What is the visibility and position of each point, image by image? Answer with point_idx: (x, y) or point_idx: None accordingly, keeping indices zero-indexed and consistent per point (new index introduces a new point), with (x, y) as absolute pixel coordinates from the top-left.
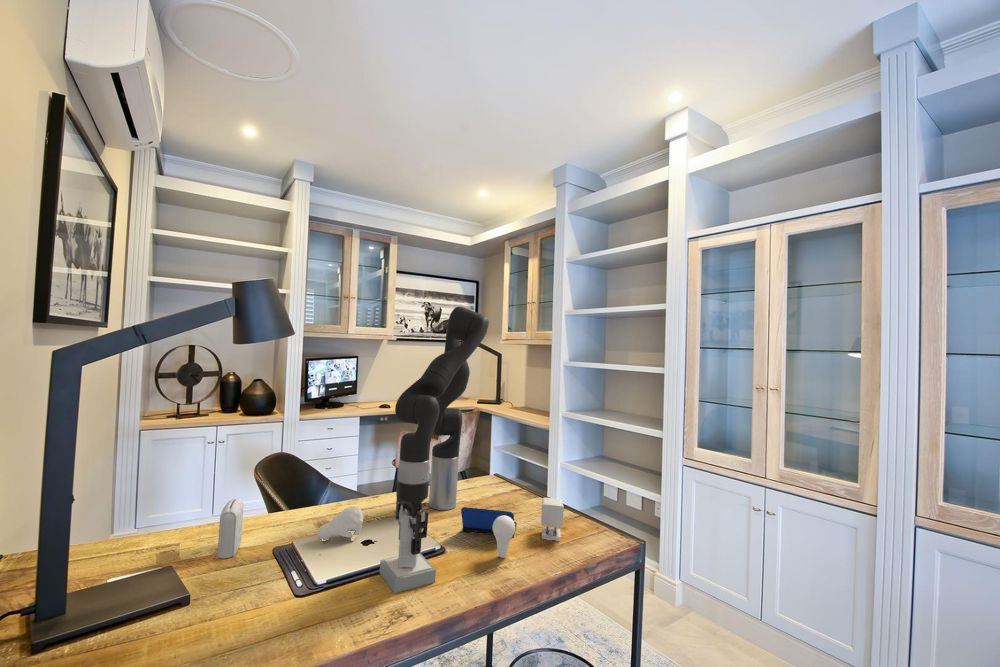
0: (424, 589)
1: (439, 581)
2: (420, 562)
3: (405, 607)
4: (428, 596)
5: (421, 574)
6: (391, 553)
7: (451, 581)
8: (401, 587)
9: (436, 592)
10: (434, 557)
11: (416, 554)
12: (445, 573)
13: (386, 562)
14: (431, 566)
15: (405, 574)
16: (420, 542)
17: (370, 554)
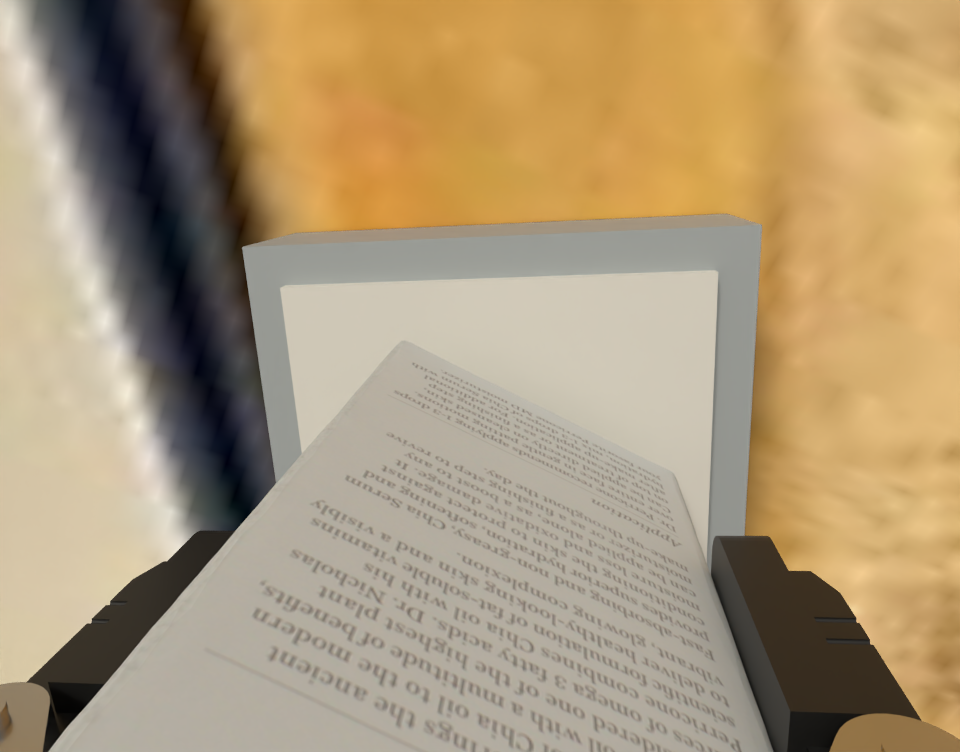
0: (786, 358)
1: (728, 160)
2: (537, 347)
3: (955, 598)
4: (920, 370)
5: (747, 408)
6: (29, 399)
7: (798, 30)
8: None
9: (903, 273)
10: (221, 5)
11: (689, 541)
12: (607, 26)
13: None
14: (662, 246)
15: None
16: (906, 704)
17: (10, 562)
